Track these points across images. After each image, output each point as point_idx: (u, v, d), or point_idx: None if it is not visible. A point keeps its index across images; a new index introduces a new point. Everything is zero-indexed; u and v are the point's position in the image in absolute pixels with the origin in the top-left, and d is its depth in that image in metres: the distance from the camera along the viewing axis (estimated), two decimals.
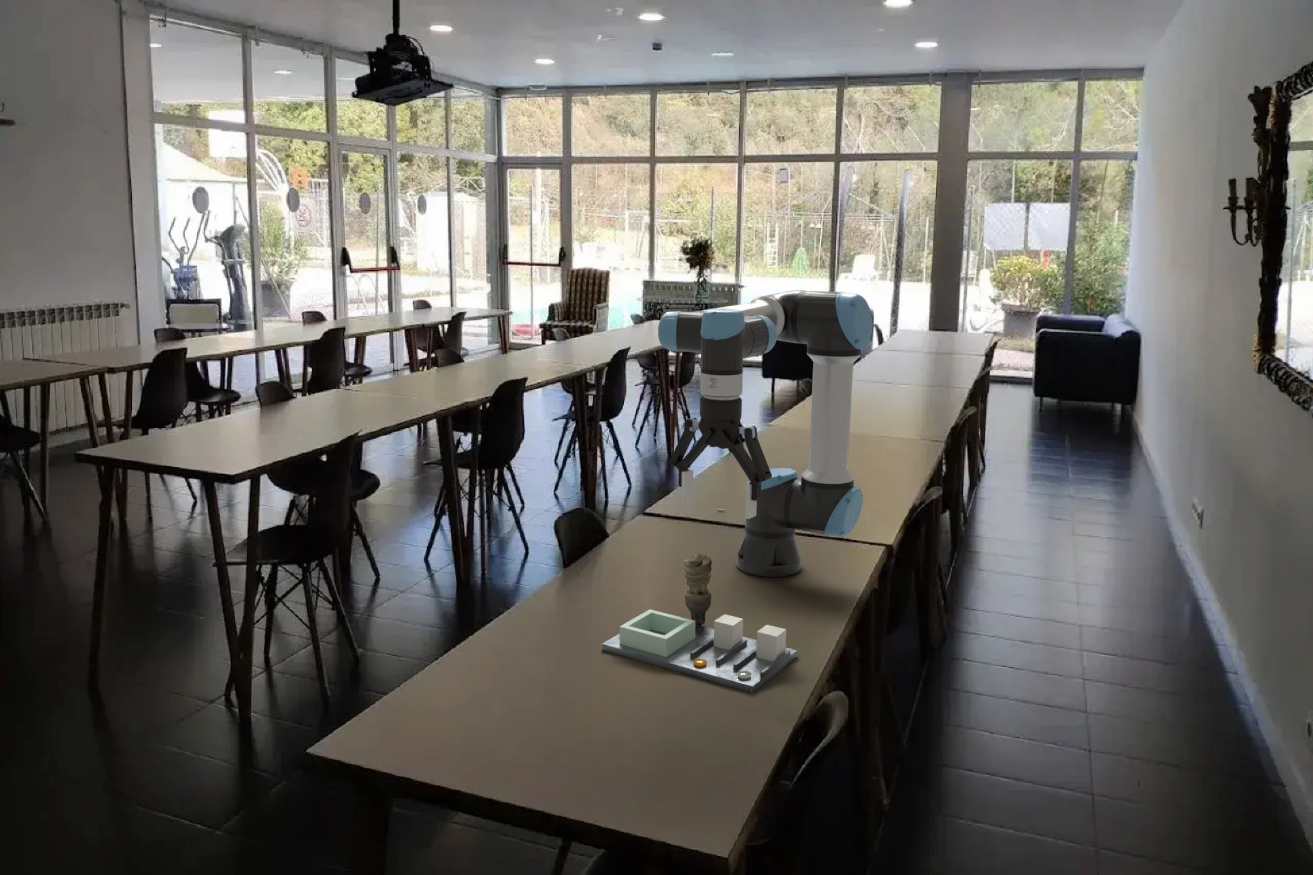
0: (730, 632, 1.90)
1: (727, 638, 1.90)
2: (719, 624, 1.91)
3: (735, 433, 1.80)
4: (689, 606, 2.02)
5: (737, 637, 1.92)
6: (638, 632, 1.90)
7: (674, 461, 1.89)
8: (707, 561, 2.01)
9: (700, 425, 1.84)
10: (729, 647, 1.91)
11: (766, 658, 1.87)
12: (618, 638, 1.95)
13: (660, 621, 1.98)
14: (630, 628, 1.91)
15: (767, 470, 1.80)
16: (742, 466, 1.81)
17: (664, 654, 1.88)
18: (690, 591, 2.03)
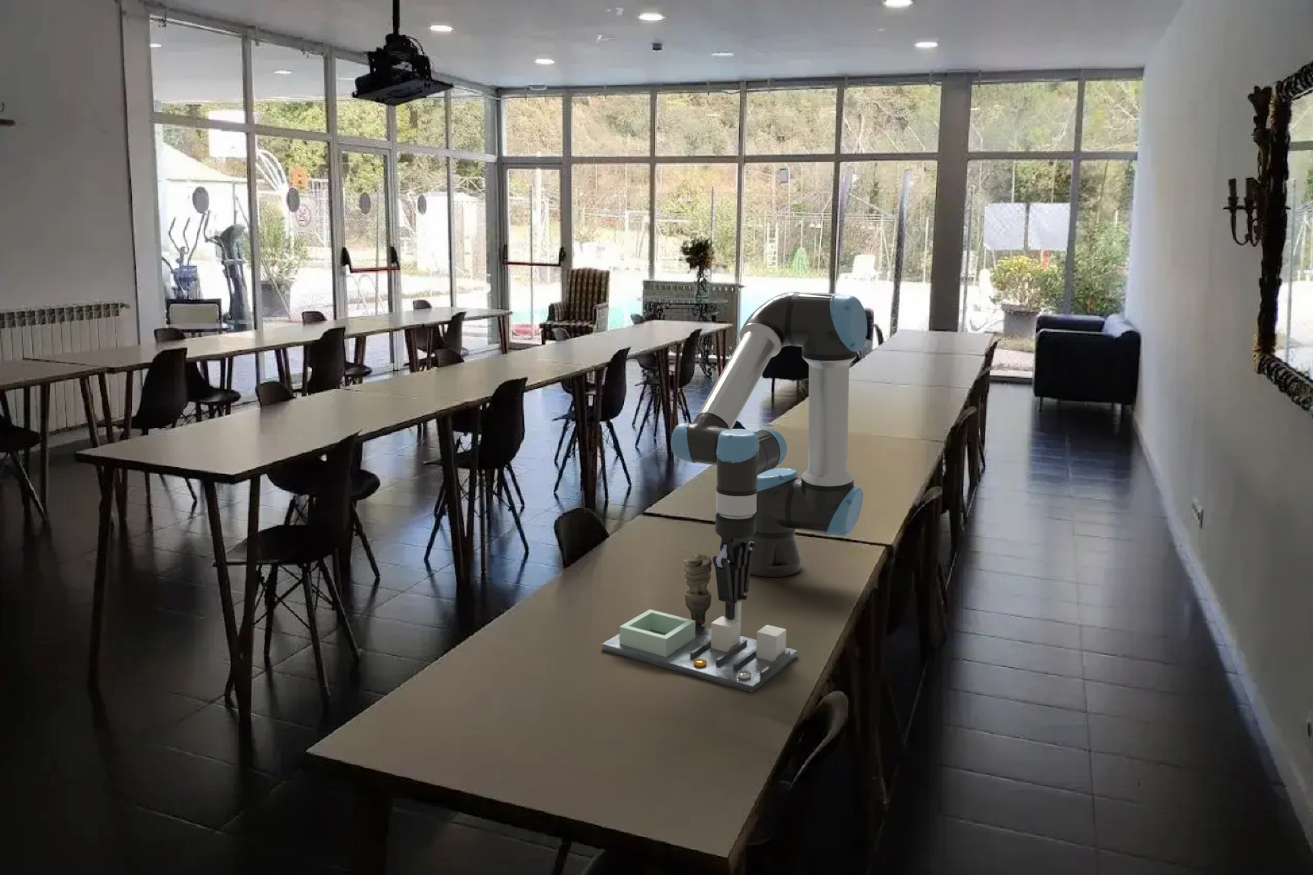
0: (727, 634, 1.89)
1: (724, 640, 1.90)
2: (716, 625, 1.90)
3: (721, 550, 1.88)
4: (689, 606, 2.02)
5: (734, 639, 1.91)
6: (638, 632, 1.90)
7: None
8: (707, 561, 2.01)
9: None
10: (726, 649, 1.90)
11: (766, 658, 1.87)
12: (618, 638, 1.95)
13: (660, 621, 1.98)
14: (630, 628, 1.91)
15: (725, 596, 1.89)
16: None
17: (664, 654, 1.88)
18: (690, 591, 2.03)
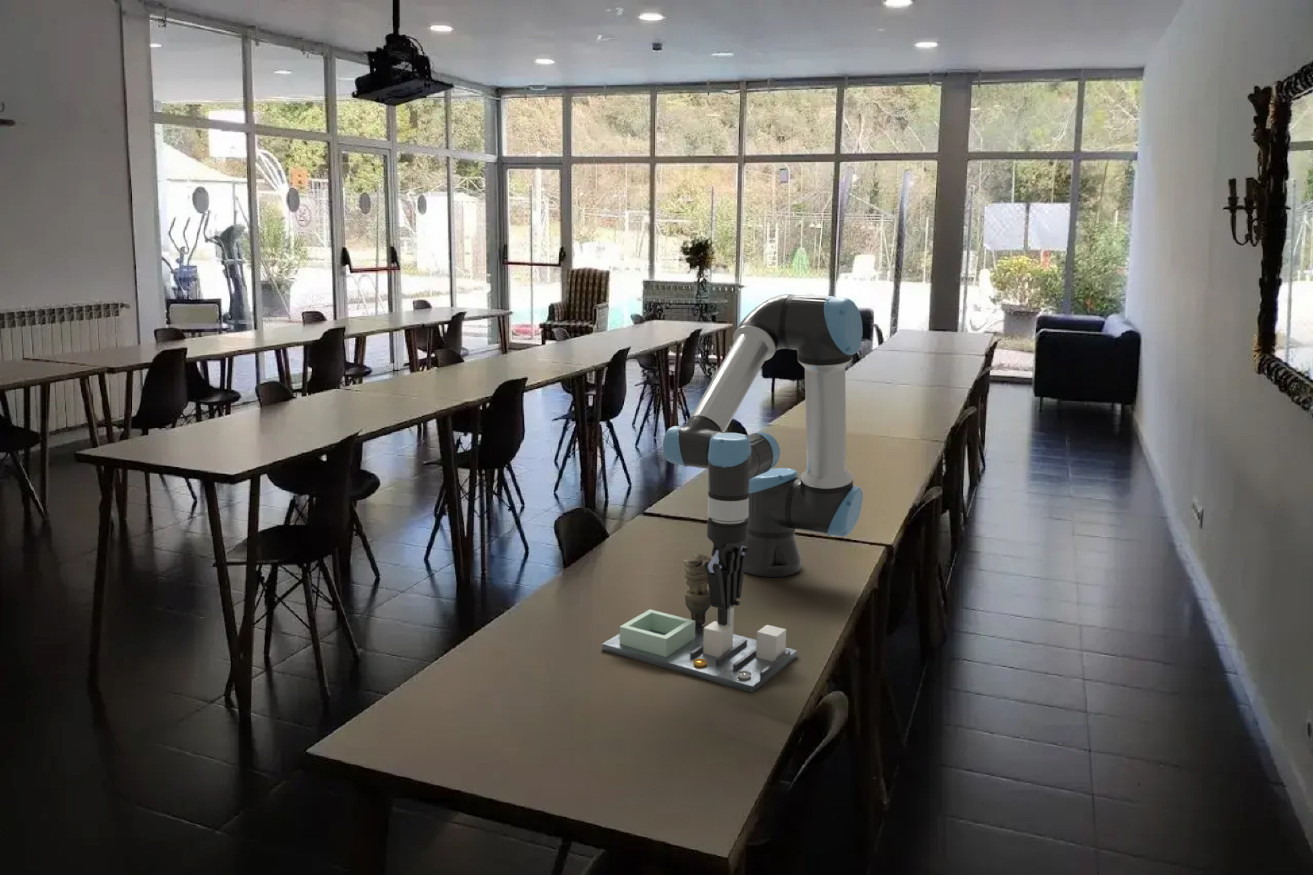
0: (719, 639, 1.87)
1: (717, 646, 1.87)
2: (709, 631, 1.88)
3: None
4: (689, 606, 2.02)
5: (727, 644, 1.88)
6: (638, 632, 1.90)
7: None
8: (707, 561, 2.01)
9: None
10: (719, 654, 1.87)
11: (766, 658, 1.87)
12: (618, 638, 1.95)
13: (660, 621, 1.98)
14: (630, 628, 1.91)
15: (717, 602, 1.86)
16: None
17: (664, 654, 1.88)
18: (690, 591, 2.03)
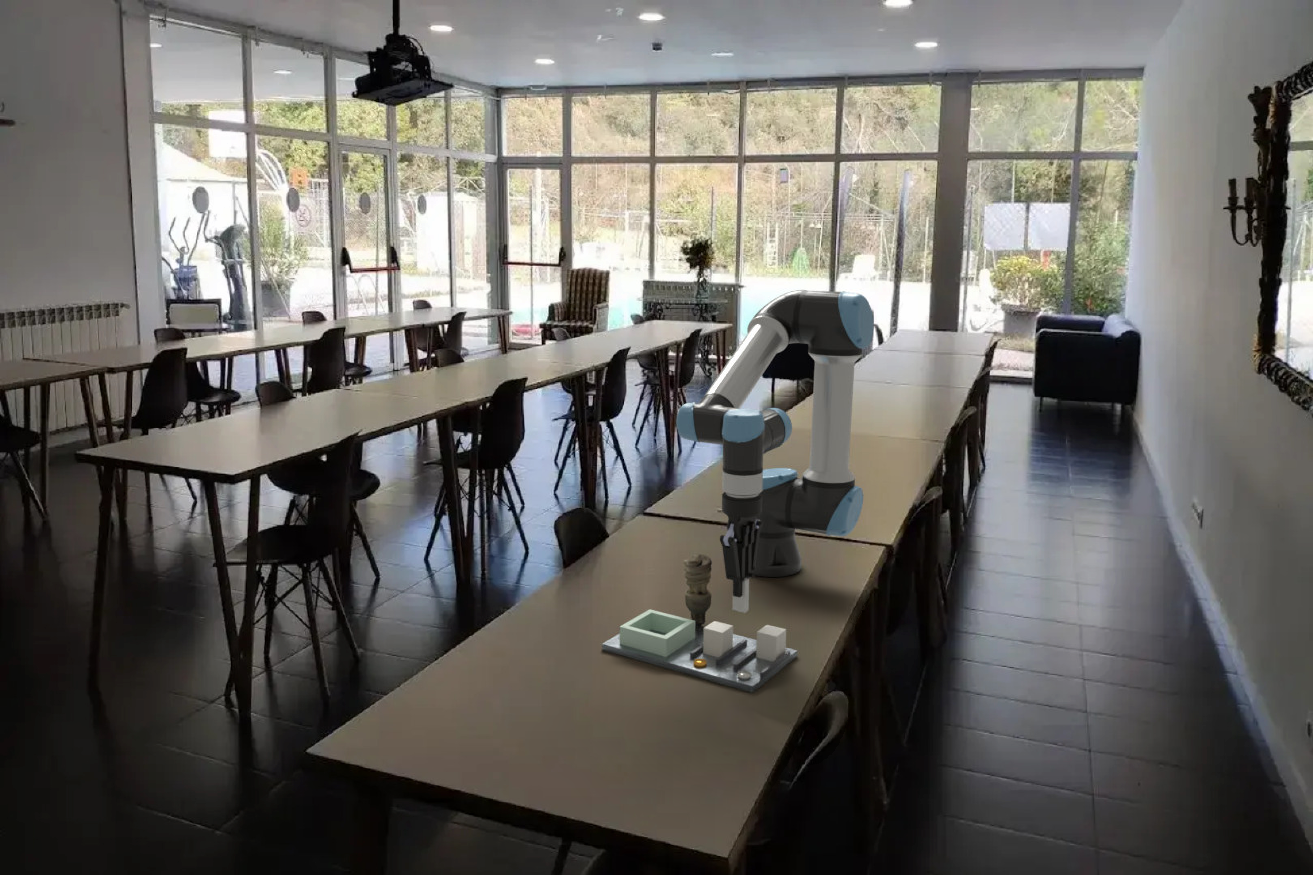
0: (719, 639, 1.87)
1: (717, 646, 1.87)
2: (709, 631, 1.88)
3: (728, 529, 1.90)
4: (689, 606, 2.02)
5: (727, 644, 1.88)
6: (638, 632, 1.90)
7: None
8: (707, 561, 2.01)
9: None
10: (719, 654, 1.87)
11: (766, 658, 1.87)
12: (618, 638, 1.95)
13: (660, 621, 1.98)
14: (630, 628, 1.91)
15: (733, 574, 1.90)
16: None
17: (664, 654, 1.88)
18: (690, 591, 2.03)
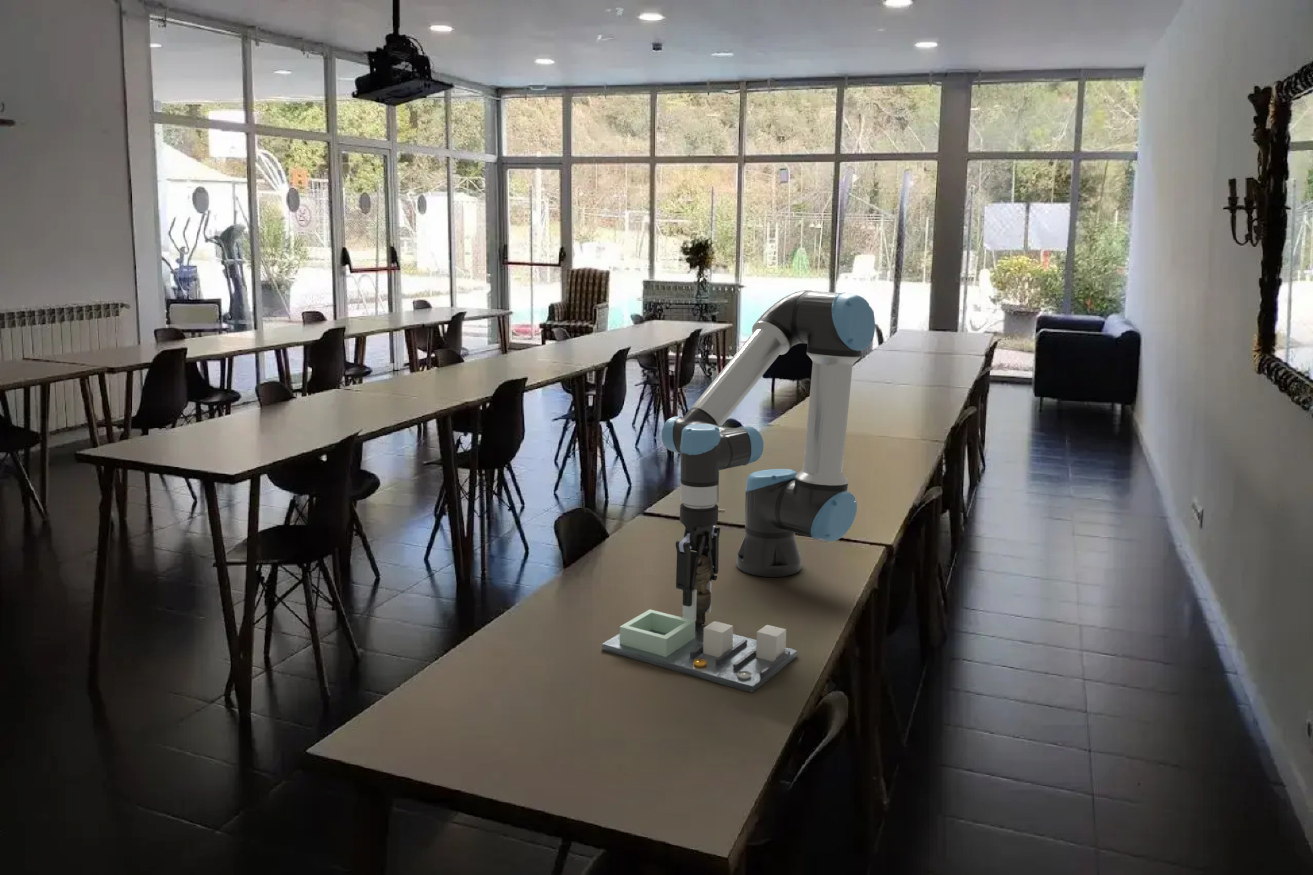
0: (719, 639, 1.87)
1: (717, 646, 1.87)
2: (709, 631, 1.88)
3: None
4: None
5: (727, 644, 1.88)
6: (638, 632, 1.90)
7: None
8: (706, 561, 2.01)
9: None
10: (719, 654, 1.87)
11: (766, 658, 1.87)
12: (618, 638, 1.95)
13: (660, 621, 1.98)
14: (630, 628, 1.91)
15: (683, 583, 1.97)
16: None
17: (664, 654, 1.88)
18: None
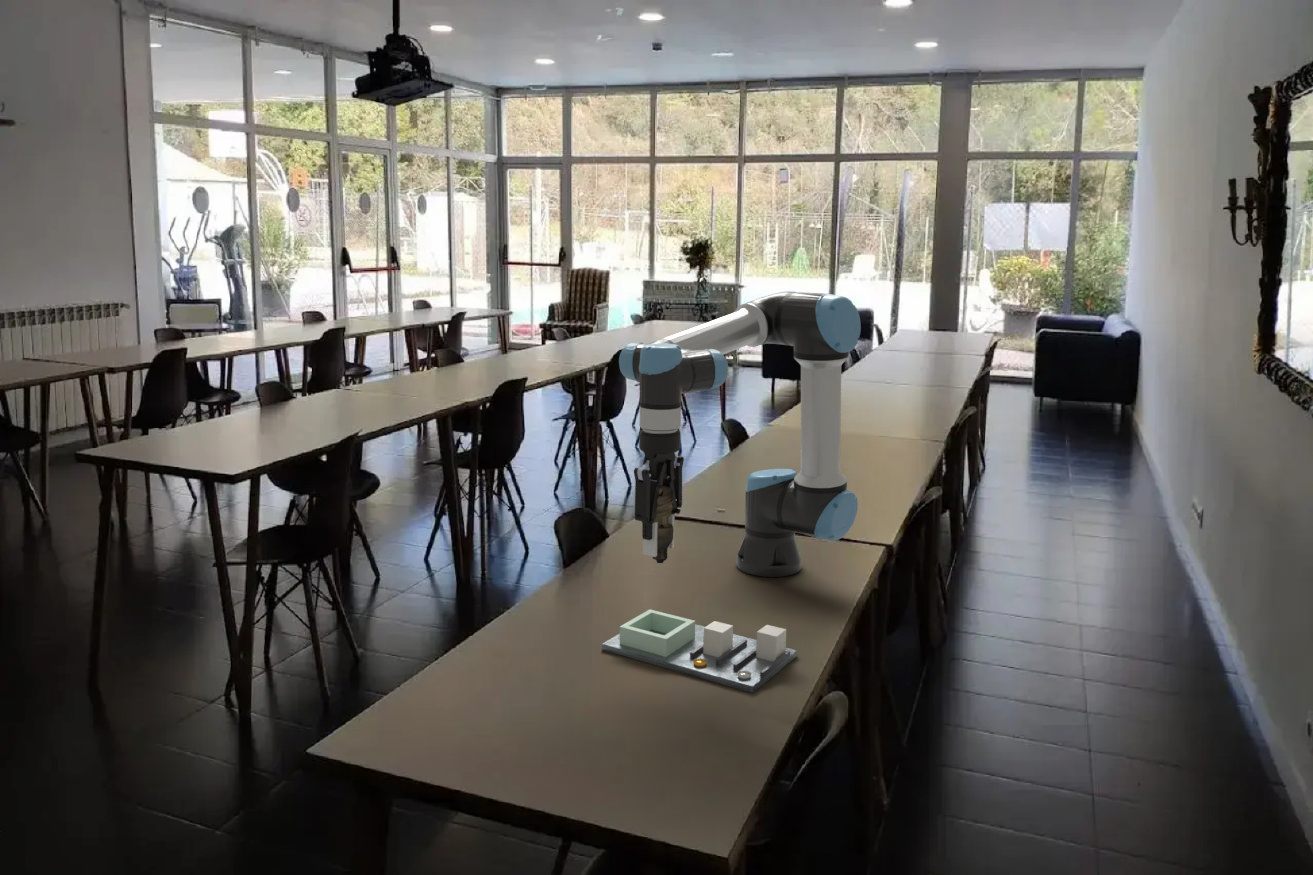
0: (719, 639, 1.87)
1: (717, 646, 1.87)
2: (709, 631, 1.88)
3: None
4: None
5: (727, 644, 1.88)
6: (638, 632, 1.90)
7: None
8: (668, 492, 1.87)
9: None
10: (719, 654, 1.87)
11: (766, 658, 1.87)
12: (618, 638, 1.95)
13: (660, 621, 1.98)
14: (630, 628, 1.91)
15: (642, 514, 1.83)
16: None
17: (664, 654, 1.88)
18: None
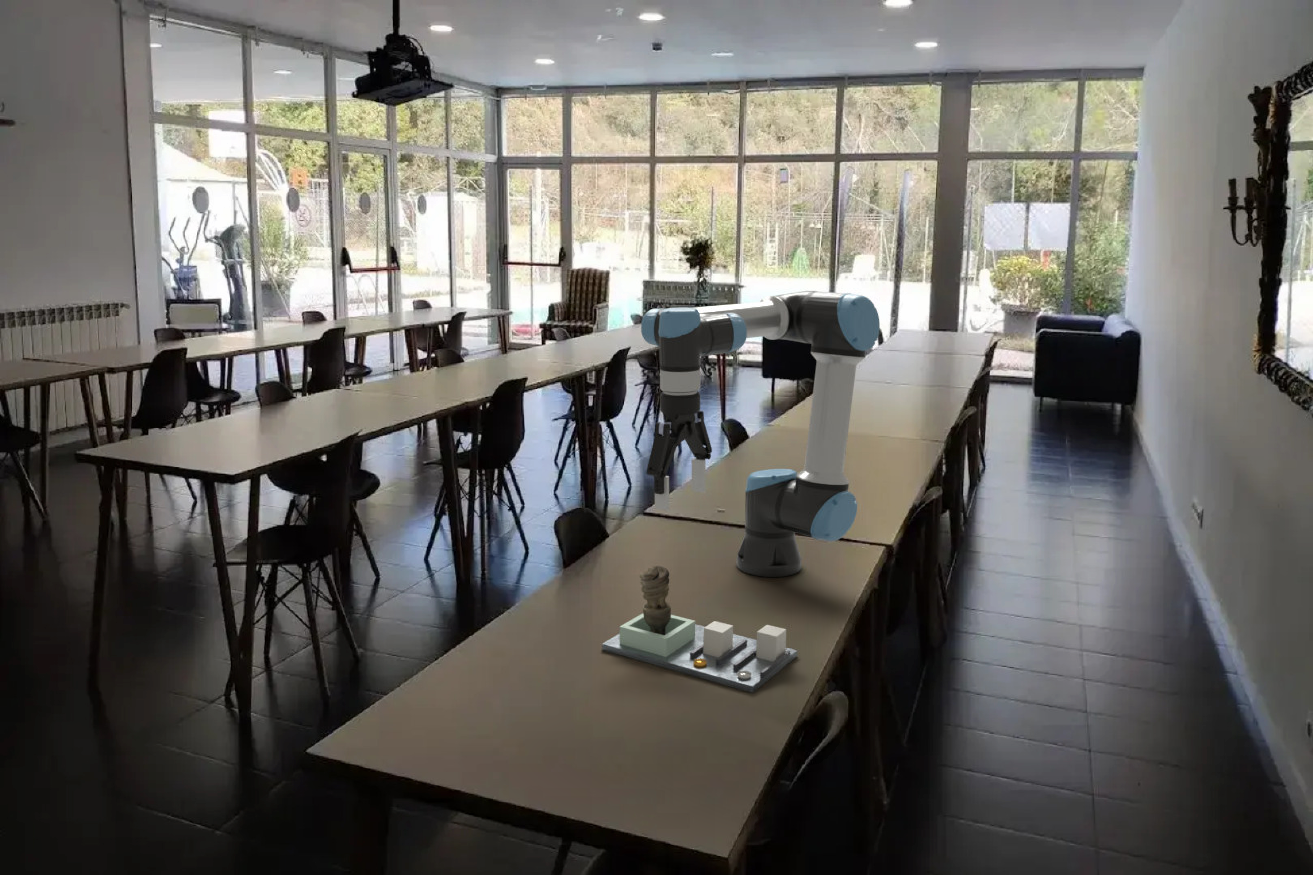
0: (719, 639, 1.87)
1: (717, 646, 1.87)
2: (709, 631, 1.88)
3: None
4: (647, 621, 1.92)
5: (727, 644, 1.88)
6: (638, 632, 1.90)
7: None
8: (664, 573, 1.91)
9: None
10: (719, 654, 1.87)
11: (766, 658, 1.87)
12: (618, 638, 1.95)
13: None
14: (630, 628, 1.91)
15: (655, 466, 1.85)
16: None
17: (664, 654, 1.88)
18: (647, 605, 1.92)
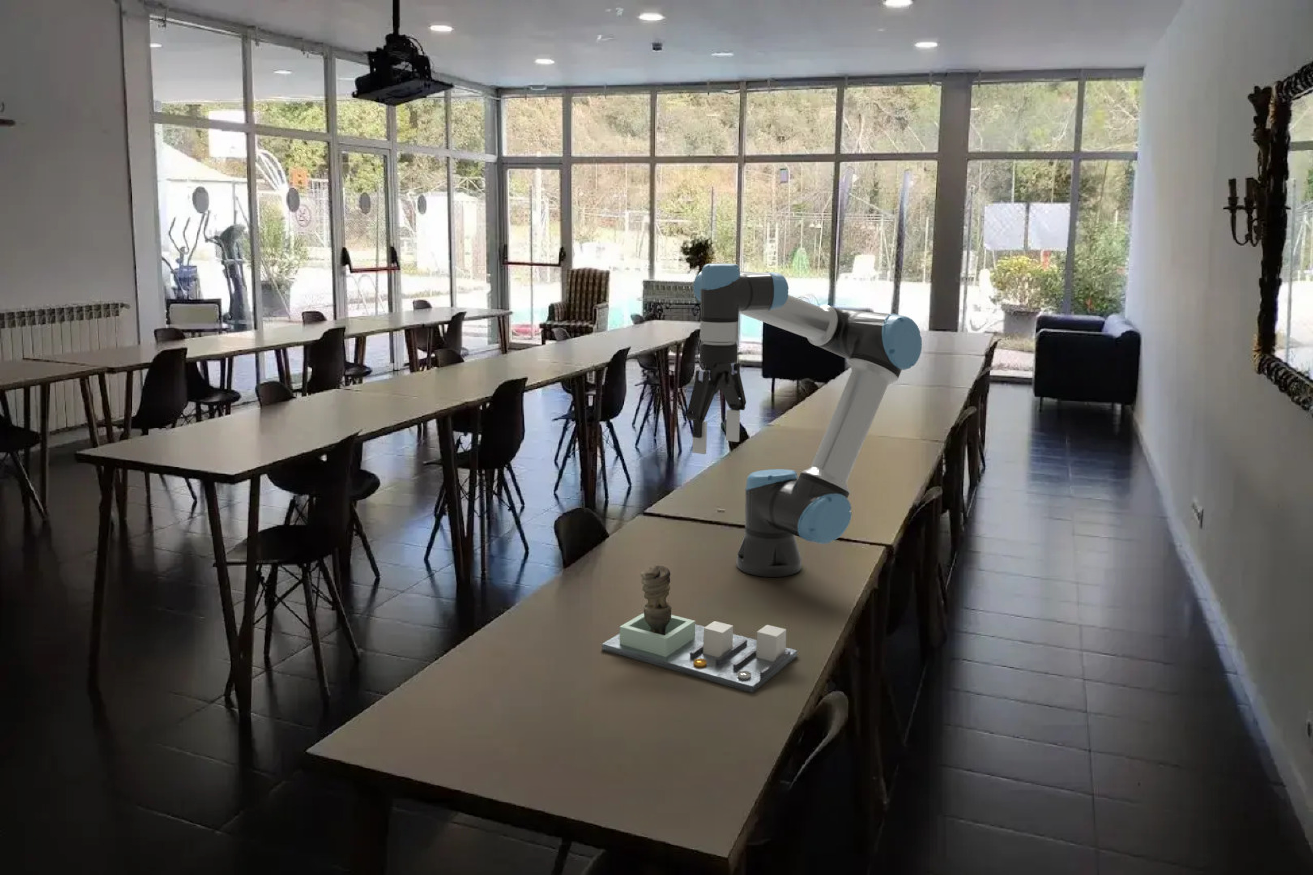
0: (719, 639, 1.87)
1: (717, 646, 1.87)
2: (709, 631, 1.88)
3: None
4: (647, 621, 1.92)
5: (727, 644, 1.88)
6: (638, 632, 1.90)
7: None
8: (665, 573, 1.91)
9: None
10: (719, 654, 1.87)
11: (766, 658, 1.87)
12: (618, 638, 1.95)
13: None
14: (630, 628, 1.91)
15: (694, 411, 1.97)
16: None
17: (664, 654, 1.88)
18: (648, 605, 1.92)
